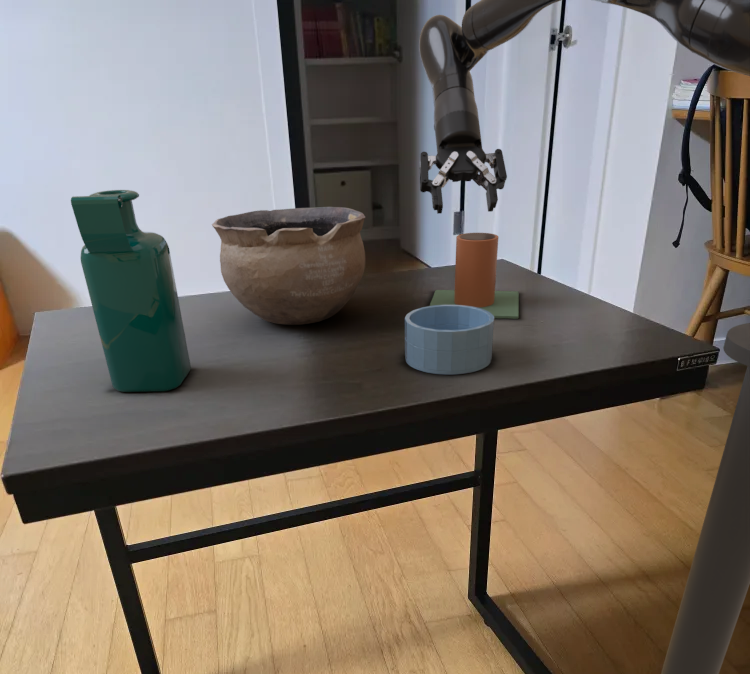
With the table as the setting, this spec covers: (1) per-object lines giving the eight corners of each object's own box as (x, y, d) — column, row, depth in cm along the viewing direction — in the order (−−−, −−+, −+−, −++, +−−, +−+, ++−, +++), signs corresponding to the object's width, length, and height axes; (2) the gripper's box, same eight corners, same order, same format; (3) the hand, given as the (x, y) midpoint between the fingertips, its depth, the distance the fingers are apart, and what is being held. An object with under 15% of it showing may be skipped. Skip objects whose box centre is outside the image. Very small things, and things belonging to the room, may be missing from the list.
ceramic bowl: (239, 348, 93) (223, 234, 85) (217, 307, 111) (202, 210, 103) (388, 327, 99) (386, 219, 91) (344, 292, 117) (339, 198, 109)
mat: (518, 293, 113) (518, 291, 112) (518, 318, 101) (518, 316, 101) (435, 292, 115) (435, 289, 115) (426, 316, 103) (426, 313, 103)
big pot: (492, 345, 91) (495, 305, 88) (489, 376, 82) (492, 332, 79) (411, 343, 93) (411, 303, 90) (399, 372, 84) (399, 329, 81)
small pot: (494, 296, 110) (499, 232, 105) (493, 308, 105) (497, 240, 99) (455, 296, 111) (458, 232, 106) (452, 307, 106) (454, 240, 100)
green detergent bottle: (131, 368, 88) (88, 185, 76) (195, 367, 88) (161, 183, 76) (104, 398, 80) (51, 198, 68) (174, 397, 79) (134, 195, 68)
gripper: (417, 110, 110) (425, 196, 106) (502, 107, 110) (513, 192, 107) (413, 144, 117) (420, 225, 114) (493, 141, 118) (503, 222, 114)
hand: (466, 209), depth 110 cm, fingers open, 8 cm apart
